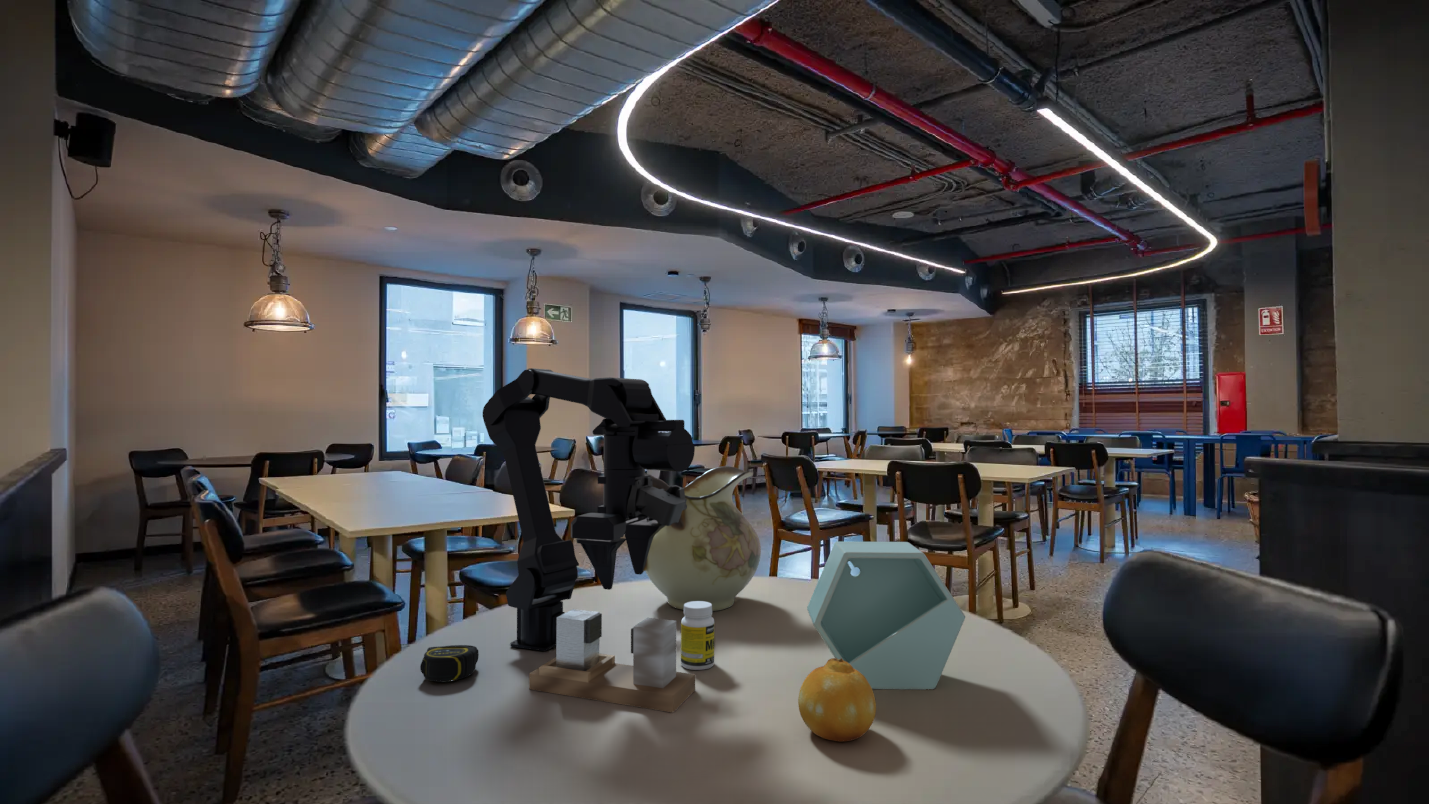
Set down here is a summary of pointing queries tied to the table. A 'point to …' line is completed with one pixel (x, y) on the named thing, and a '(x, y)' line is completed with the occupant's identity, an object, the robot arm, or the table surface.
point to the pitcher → (705, 544)
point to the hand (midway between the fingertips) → (624, 581)
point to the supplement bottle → (697, 636)
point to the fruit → (837, 702)
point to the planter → (886, 614)
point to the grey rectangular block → (578, 639)
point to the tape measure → (449, 662)
